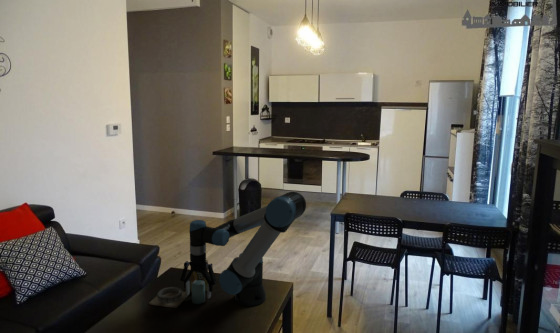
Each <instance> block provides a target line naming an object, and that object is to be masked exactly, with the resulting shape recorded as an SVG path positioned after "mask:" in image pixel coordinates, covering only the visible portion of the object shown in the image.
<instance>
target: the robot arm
mask: <svg viewBox="0 0 560 333" xmlns="http://www.w3.org/2000/svg"><path fill="white" fill-rule="evenodd" d="M306 208H307V201H306V199H305V197H304V196H303V195H302V193H300V192H297V191H288V192H285V193H284V194H282V195H280V196H277V197H275V198H273V199H271V201H269V203H267V205H265V206H263V207H260V208H258V209H256V210H253V211H251V212H249V213H245V214H244V215H241V216H238V217H236V218H232V219H230V220H228V221H226V222H224V223H222V224H220V225H218V226H216V227H211V226H207V223H206V221H205V220H203V219H195V220H192V221H191V222H190V223H189V230H188V232H189V261H188V260H186V261H185V262H184V263H183V269H182V273H181V276H180V279H179V281H180V282H183V288H184V289H185V292H186V296H187V297H188V296H189V295H190V293H191V280H189V279H191V275H192V273H193V271H195V272H197V271H198V272H201V273H202V274H203V276H204V277H205V279H206V281H207V283H208V286H207V291H206V295H207V296H206V299H208V300H209V299H210V298H211V297H212V292H213V290H214V285H216V283H217V282H218V281H219V285H220V288H221V289H222V290H223V291H224V292H225V293H226V294H229V295H233V296H234V300H235V302H236V303H237V304H238V305H241V306H246V307H254V306H259V305H261V304H263V303H264V302H265V301H266V300H267V299H266V298H267V296H266V295H267V294H266V291H265V288H264V285H263V277H264V276H263V274H264V272H263V269H264V266H263V265H264V258H263V257H264V256H265V255H266V254H267V252H268V250H269V249H270V248H271V247H272V245H273V244H274V242H275V241H276V240H277V238H278V237H279V236H280V234H283V233H286V232H287V231H288V230H289V228H290V227H291V226H292V224H293V223H294V221H295V220H297V219H298V218H300V217H302V215H304V213H305V211H306ZM257 227H259V228H258V229H257V231H256V232H255V234H254V235H253V237H251V239H250V241H249V242H248V244H247V246H246V247H245V248H244V250H243V251H242V252H240V253H239V255H238V256H236V257H234V258H233V260H232V261H231V262H230V264H229V265H228V267H226V269H223V270H222V271H221V273H220V274H219V277H218V281H217V279H216V275H215V273H214V268H213V263H208V264H207V263H206V260H207V244H210V245H213V246H219V247H224V246H226V245H227V244H228V242H229V241H230V239H231V238H233V237H234V236H237V235H240V234H241V233H245V232H248V231H250V230H252V229H255V228H257ZM190 266H191V270H189V272H188V273H187V271H188V268H189V267H190ZM205 267H207V269H208V273H207V270H206V268H205ZM203 270H204V271H203ZM186 274H187V275H186Z"/></svg>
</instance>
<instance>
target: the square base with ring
mask: <svg viewBox="0 0 560 333" xmlns="http://www.w3.org/2000/svg"><path fill="white" fill-rule="evenodd" d="M187 297H188V296H186V291H183V290H182V288H180V287H178V286H177V287H176V286H169V287H164V288H162V289H159V291H158V292H157V295H156V296H155V297H153V299H152V300H151V301H149V303H148V304H149V305H150V306H151V305H152V306H159V307H166V308H174V309H177V308H179V306H181V304H182V303H183V302H184V301H185V298H187Z"/></svg>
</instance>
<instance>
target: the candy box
mask: <svg viewBox="0 0 560 333" xmlns="http://www.w3.org/2000/svg"><path fill="white" fill-rule="evenodd" d="M206 263H207V264H209V259H206ZM189 267H190V270H191V266H190V265H189ZM205 268H206V270H207V273H208V274H209V271H208V269H207V267H205ZM190 270H189V271H190ZM203 271H204V270H203ZM195 280H202V281H204V282H205V292H207V286H208V283H207V281H206V279H205V277H204V276H203V274H202V273H201V272H198V271H197V272H195V271H193V273H192V275H191V276H190V293H192V282H194V281H195Z"/></svg>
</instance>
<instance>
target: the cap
mask: <svg viewBox="0 0 560 333" xmlns="http://www.w3.org/2000/svg"><path fill="white" fill-rule="evenodd" d="M205 302H206V291H205V282H204V281H202V280H195V281H194V282H192V292H191V303H192V304H195V305H200V304H203V303H205Z"/></svg>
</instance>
